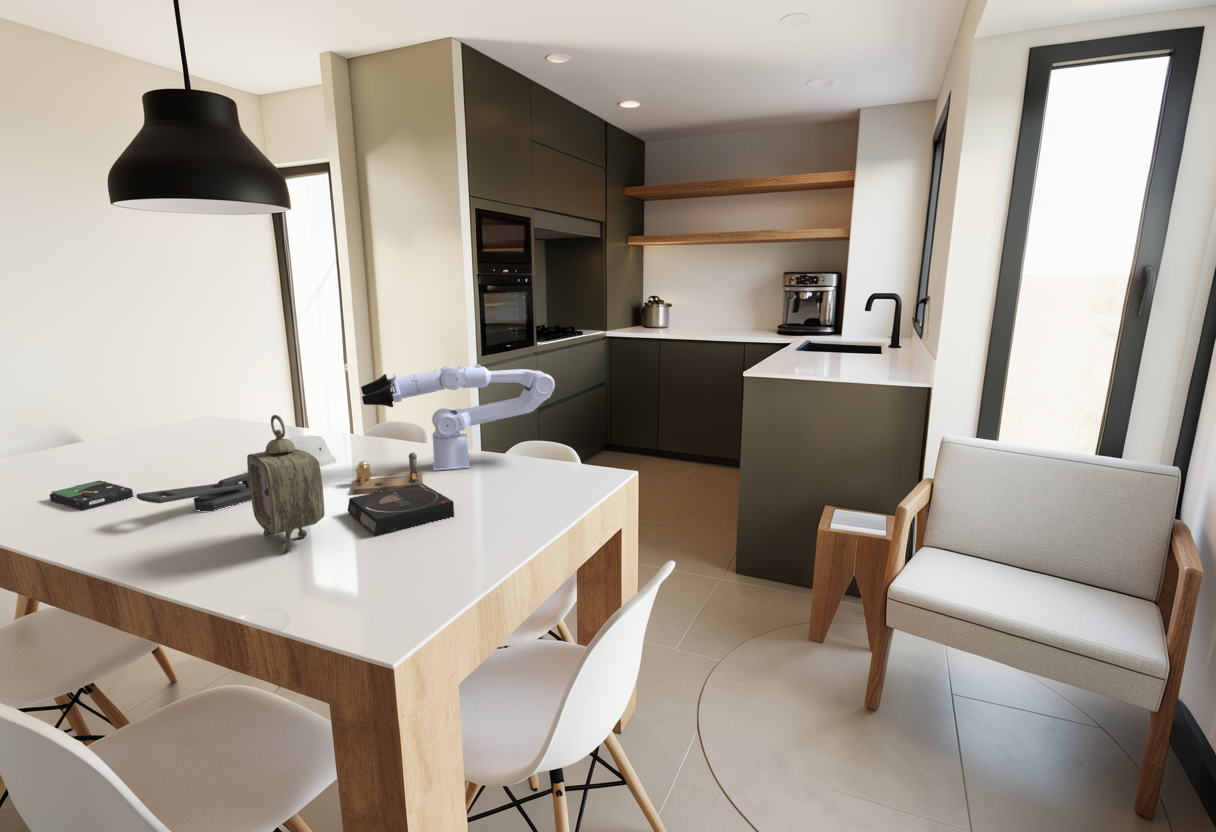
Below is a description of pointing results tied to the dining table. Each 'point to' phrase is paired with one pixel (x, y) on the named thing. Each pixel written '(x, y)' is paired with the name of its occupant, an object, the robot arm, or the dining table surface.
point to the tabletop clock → (285, 487)
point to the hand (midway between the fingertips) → (362, 395)
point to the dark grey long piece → (206, 494)
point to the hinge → (314, 448)
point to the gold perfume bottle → (363, 471)
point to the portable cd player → (400, 508)
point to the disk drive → (91, 495)
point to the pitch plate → (390, 479)
